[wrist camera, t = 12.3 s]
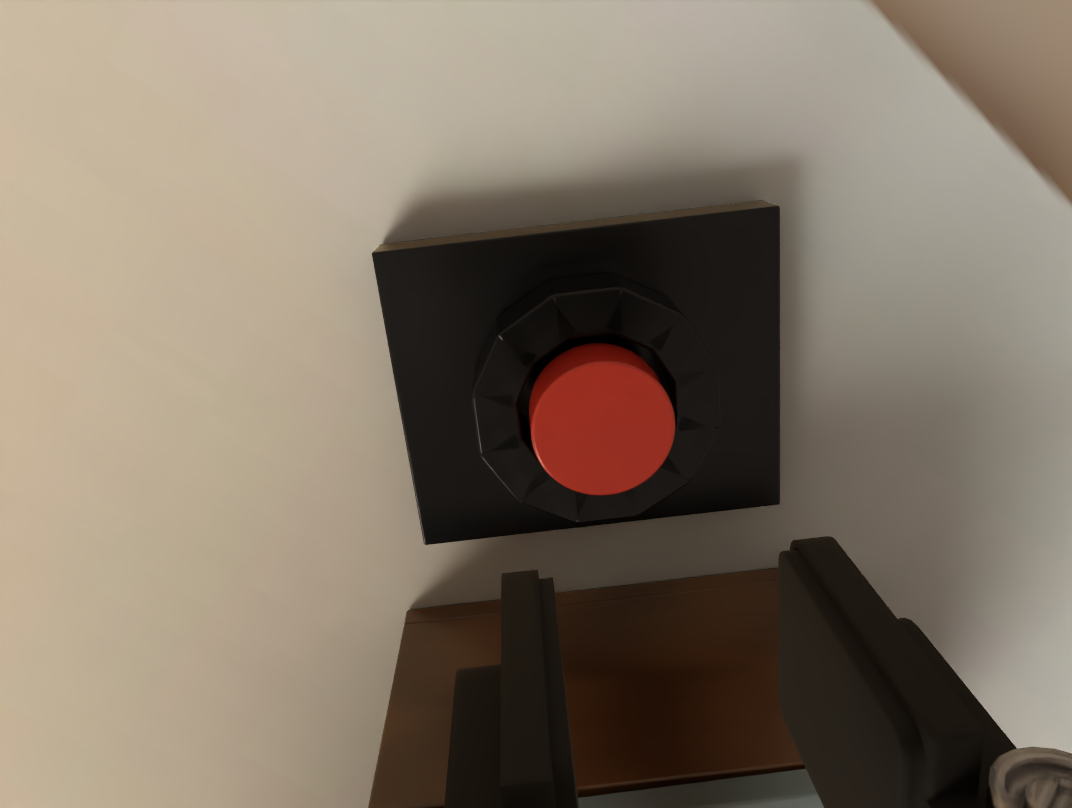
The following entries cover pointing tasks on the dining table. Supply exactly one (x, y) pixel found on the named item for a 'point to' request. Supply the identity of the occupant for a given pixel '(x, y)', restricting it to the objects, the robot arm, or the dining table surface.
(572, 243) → the button block
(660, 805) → the lid
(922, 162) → the dining table surface
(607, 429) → the button
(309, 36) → the dining table surface
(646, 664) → the frame box
